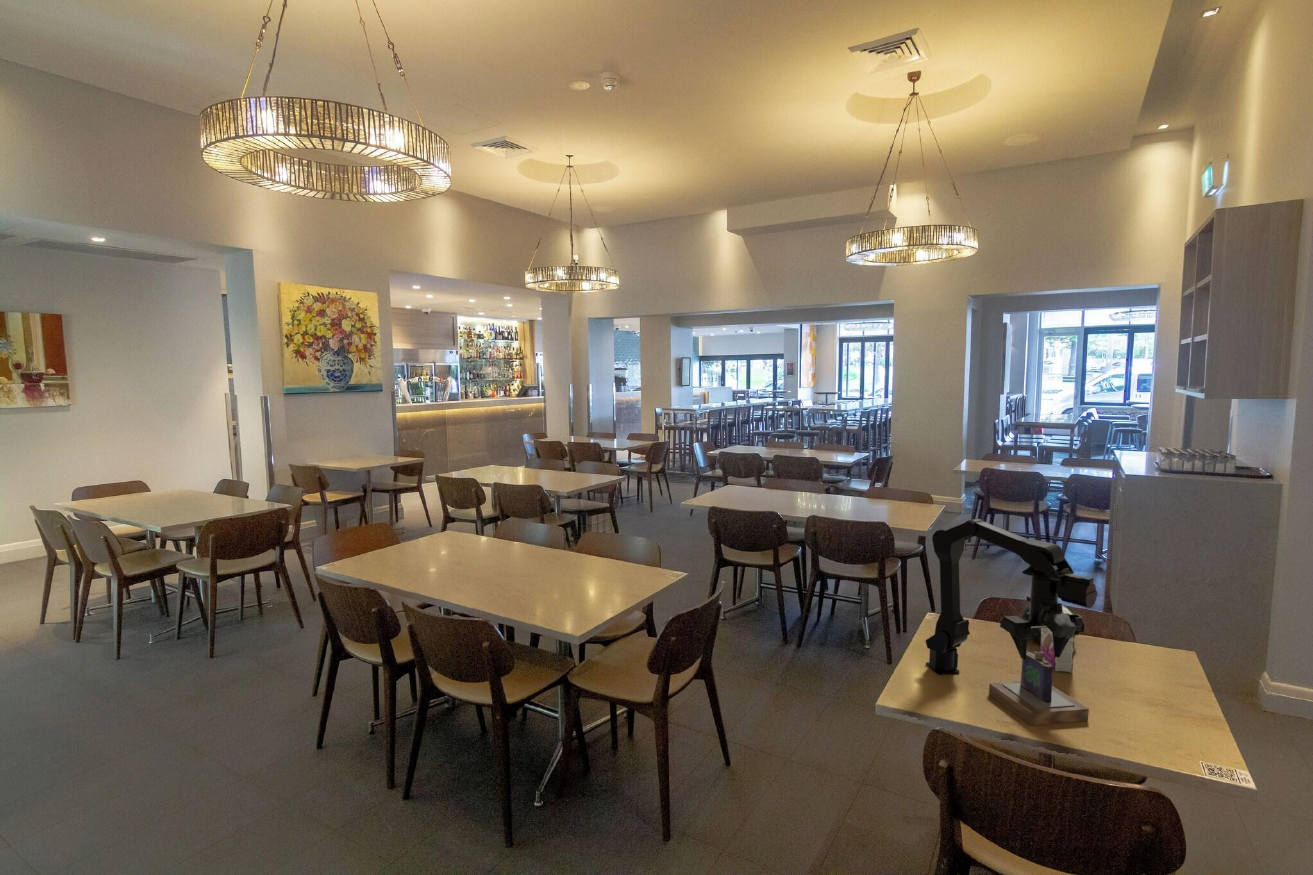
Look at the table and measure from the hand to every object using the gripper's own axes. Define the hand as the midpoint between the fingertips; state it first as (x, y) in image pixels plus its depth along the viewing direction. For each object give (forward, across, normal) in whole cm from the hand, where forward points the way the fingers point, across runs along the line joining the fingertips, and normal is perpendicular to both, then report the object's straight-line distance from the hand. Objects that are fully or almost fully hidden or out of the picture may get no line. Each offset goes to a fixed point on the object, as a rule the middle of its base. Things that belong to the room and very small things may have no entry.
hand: (1040, 657), depth 159 cm
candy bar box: (+13, +23, +22) cm, 34 cm away
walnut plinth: (+13, 0, 0) cm, 13 cm away
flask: (+10, 0, 0) cm, 10 cm away
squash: (+13, +33, +37) cm, 51 cm away
